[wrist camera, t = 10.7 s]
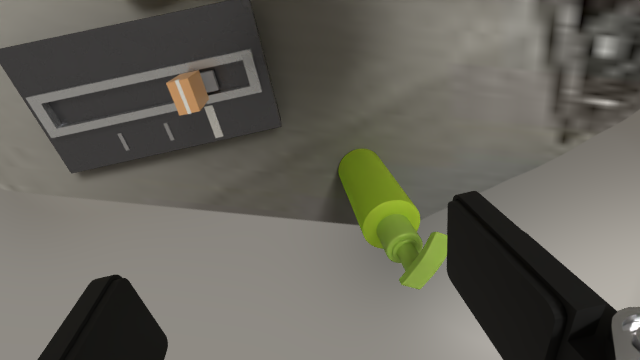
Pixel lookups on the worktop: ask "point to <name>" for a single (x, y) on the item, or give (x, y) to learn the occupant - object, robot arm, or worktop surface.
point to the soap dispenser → (390, 217)
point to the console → (145, 84)
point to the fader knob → (192, 90)
